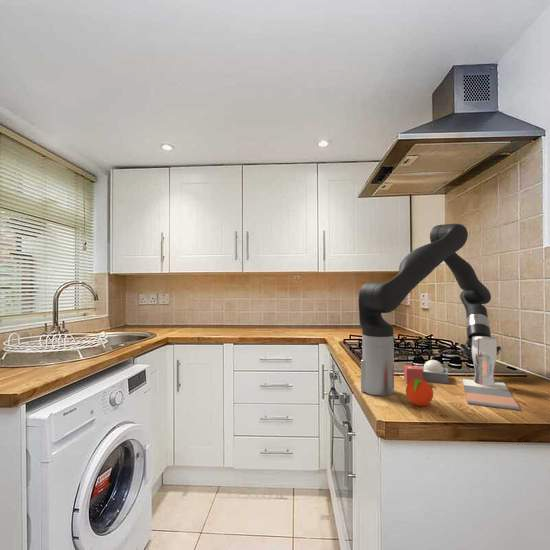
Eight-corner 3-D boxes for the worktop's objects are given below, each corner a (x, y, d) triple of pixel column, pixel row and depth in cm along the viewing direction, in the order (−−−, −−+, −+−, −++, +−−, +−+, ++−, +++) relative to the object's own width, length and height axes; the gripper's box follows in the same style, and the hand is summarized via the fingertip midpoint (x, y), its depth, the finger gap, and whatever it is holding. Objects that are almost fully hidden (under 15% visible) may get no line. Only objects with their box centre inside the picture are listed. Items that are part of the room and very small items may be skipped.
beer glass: (471, 385, 113) (470, 338, 113) (472, 380, 118) (472, 335, 119) (496, 388, 109) (496, 339, 109) (497, 383, 115) (496, 337, 115)
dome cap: (423, 379, 120) (422, 361, 120) (423, 375, 126) (423, 357, 126) (443, 382, 118) (443, 362, 118) (443, 377, 123) (443, 359, 123)
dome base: (418, 380, 120) (418, 371, 120) (420, 374, 128) (420, 365, 128) (448, 383, 116) (448, 374, 116) (447, 376, 124) (447, 368, 124)
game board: (467, 403, 96) (467, 402, 96) (462, 378, 122) (462, 377, 122) (520, 410, 91) (520, 409, 91) (503, 382, 116) (503, 381, 116)
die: (406, 384, 115) (406, 368, 115) (404, 379, 120) (403, 364, 120) (423, 384, 114) (422, 369, 114) (419, 380, 119) (419, 365, 119)
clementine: (428, 412, 90) (428, 384, 90) (401, 407, 94) (401, 380, 94) (436, 404, 96) (435, 378, 96) (410, 399, 100) (409, 374, 101)
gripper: (458, 321, 130) (460, 361, 119) (500, 323, 125) (506, 365, 113) (457, 334, 135) (459, 373, 124) (498, 336, 130) (504, 378, 118)
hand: (482, 369), depth 119 cm, fingers closed
